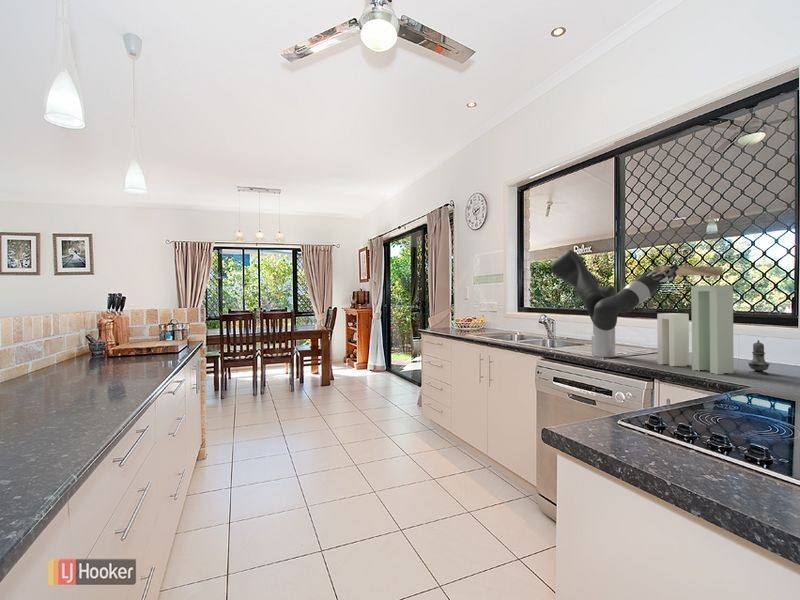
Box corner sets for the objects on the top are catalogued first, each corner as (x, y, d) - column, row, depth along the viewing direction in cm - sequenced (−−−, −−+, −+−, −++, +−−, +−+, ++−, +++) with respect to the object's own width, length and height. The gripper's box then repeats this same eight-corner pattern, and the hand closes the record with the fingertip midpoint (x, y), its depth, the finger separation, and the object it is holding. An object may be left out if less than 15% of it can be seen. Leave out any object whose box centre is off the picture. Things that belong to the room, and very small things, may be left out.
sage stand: (692, 370, 144) (691, 286, 144) (707, 368, 146) (706, 286, 146) (717, 374, 136) (716, 285, 135) (733, 373, 138) (732, 285, 138)
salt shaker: (765, 375, 133) (765, 341, 133) (744, 372, 138) (744, 339, 138) (773, 373, 136) (772, 340, 136) (751, 371, 141) (751, 338, 141)
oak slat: (654, 274, 135) (654, 266, 135) (711, 275, 143) (711, 267, 143) (664, 274, 132) (664, 265, 132) (722, 275, 140) (722, 267, 140)
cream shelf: (657, 364, 158) (657, 313, 157) (672, 362, 160) (671, 313, 160) (674, 366, 151) (673, 314, 151) (689, 365, 153) (688, 313, 153)
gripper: (653, 280, 124) (687, 255, 128) (617, 282, 137) (649, 259, 141) (661, 300, 125) (695, 274, 129) (625, 300, 138) (656, 276, 143)
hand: (670, 266), depth 135 cm, fingers closed on oak slat, 3 cm apart
